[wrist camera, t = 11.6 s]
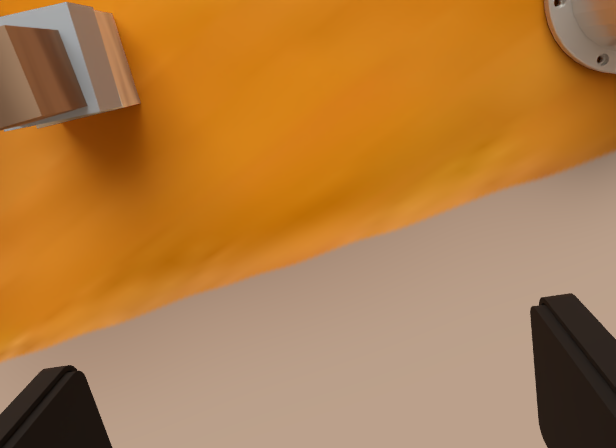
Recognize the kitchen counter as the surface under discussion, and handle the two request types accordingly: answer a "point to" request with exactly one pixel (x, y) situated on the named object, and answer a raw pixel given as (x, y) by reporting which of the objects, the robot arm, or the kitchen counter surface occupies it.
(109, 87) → the tower top
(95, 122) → the kitchen counter surface
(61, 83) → the walnut block
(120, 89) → the tower base
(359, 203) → the kitchen counter surface
